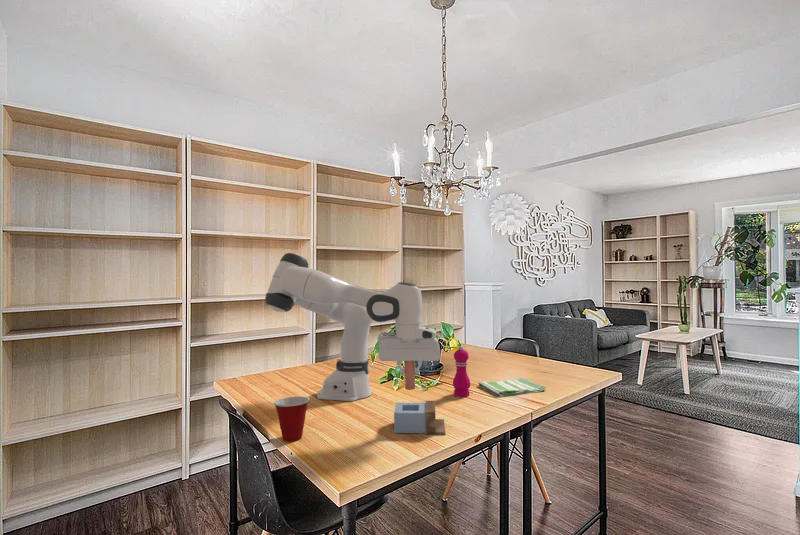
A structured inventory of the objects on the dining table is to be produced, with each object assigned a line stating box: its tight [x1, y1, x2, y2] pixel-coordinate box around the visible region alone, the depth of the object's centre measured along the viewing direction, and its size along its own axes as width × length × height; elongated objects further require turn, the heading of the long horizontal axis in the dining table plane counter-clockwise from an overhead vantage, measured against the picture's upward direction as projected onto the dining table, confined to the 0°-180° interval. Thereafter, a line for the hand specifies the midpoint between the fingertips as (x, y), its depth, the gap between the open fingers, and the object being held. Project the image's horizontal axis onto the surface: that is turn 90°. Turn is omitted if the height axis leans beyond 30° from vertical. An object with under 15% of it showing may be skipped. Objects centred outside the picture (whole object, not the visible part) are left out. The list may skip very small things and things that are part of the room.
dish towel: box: [477, 377, 547, 398], centre depth 177 cm, size 18×23×3 cm
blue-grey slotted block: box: [393, 402, 426, 434], centre depth 136 cm, size 10×10×6 cm
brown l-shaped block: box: [425, 400, 446, 436], centre depth 135 cm, size 6×11×7 cm, turn 176°
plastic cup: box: [273, 395, 310, 443], centre depth 129 cm, size 11×11×12 cm
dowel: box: [404, 361, 416, 391], centre depth 136 cm, size 3×3×10 cm
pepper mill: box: [452, 345, 472, 398], centre depth 170 cm, size 7×7×20 cm
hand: (409, 374), depth 136 cm, fingers closed on dowel, 3 cm apart
